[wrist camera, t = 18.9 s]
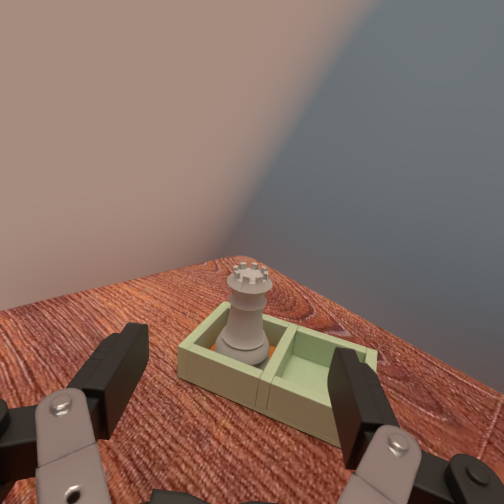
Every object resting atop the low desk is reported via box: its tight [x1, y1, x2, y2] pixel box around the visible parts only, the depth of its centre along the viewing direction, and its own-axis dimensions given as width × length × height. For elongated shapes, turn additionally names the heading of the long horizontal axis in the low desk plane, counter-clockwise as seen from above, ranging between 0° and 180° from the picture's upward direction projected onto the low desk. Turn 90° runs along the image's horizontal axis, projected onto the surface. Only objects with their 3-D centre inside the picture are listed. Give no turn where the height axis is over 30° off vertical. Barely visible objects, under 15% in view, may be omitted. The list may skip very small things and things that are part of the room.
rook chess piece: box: [214, 262, 273, 370], centre depth 23 cm, size 4×4×8 cm
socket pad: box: [177, 301, 377, 448], centre depth 23 cm, size 13×7×3 cm, turn 67°
